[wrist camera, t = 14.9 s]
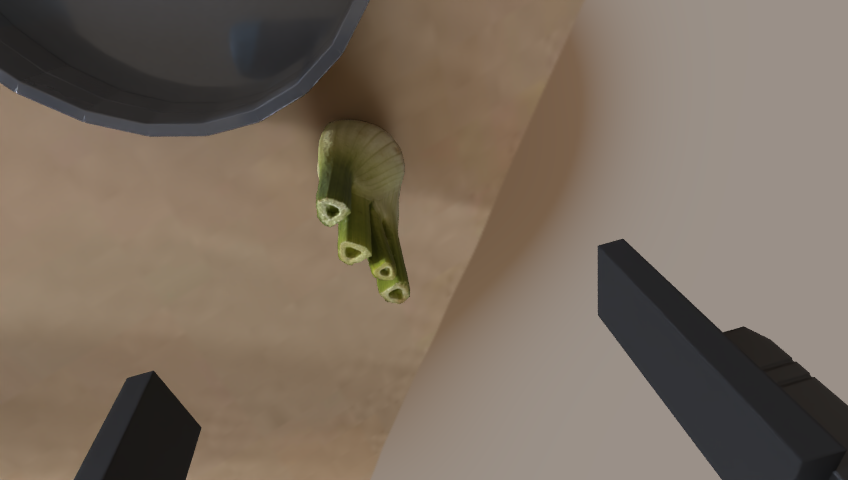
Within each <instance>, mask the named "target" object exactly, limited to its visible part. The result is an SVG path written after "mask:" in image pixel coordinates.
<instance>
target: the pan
mask: <svg viewBox="0 0 848 480" xmlns="http://www.w3.org/2000/svg"><path fill="white" fill-rule="evenodd" d="M369 1H370V0H0V83H1V84H3V85H4V86H6V87H7V88H9V89H10V90H12V91H13V92H16V93H17V94H19V95H22V96H24V97H26V98H29V99H31V100H33V101H36V102H38V103H40V104H43V105H45V106H47V107H50V108H52V109H54V110H56V111H59V112H61V113H63V114H66V115H68V116H70V117H73V118H75V119H77V120H80V121H82V122H85V123H89V124H94V125H98V126H103V127H108V128H112V129H117V130H121V131H126V132H131V133H135V134H140V135H145V136H149V137H165V136H210V135H214V134H217V133H221V132H225V131H228V130H232V129H236V128H240V127H243V126H247V125H251V124H254V123H258V122H260V121H263V120H264V119H266V118H268V117H269V116H271V115H273V114H274V113H276V112H277V111H279V110H281V109H282V108H284V107H286V106H287V105H289V104H291V103H292V102H294V101H296V100H297V99H299V98H301V97H302V96H304V95H305V94H307V93H308V92H309V90H310V89H311V88H312V87H313V86H314V85H315V84H316V83H317V82H318V81H319V80H320V78H321V77H322V76H323V75H324V74H325V73H326V72H327V71H328V70H329V69H330V68H331V66H332V65H333V64H334V63H335V62H336V61H337V60H338V59H339V58H340V57H341V56H342V53H344V51H345V49H346V47H347V45H348V43H349V41H350V39H351V37H352V35H353V33H354V31H355V29H356V27H357V25H358V23H359V21H360V19H361V17H362V15H363V13H364V11H365V9H366V7H367V5H368V3H369Z"/></svg>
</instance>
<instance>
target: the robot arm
mask: <svg viewBox="0 0 848 480" xmlns="http://www.w3.org/2000/svg"><path fill="white" fill-rule="evenodd" d="M598 316H599V317H600V318H601V320H602V321H603V322H604V324H605V325H606V326H607V327H608V329H609V330H610V331H611V333H612V334H613V335H614V337H615V338H616V340H617V341H618V342H619V343H620V345H621V346H622V348H623V349H624V350H625V351H626V353H627V354H628V356H629V357H630V358H631V360H632V361H633V362H634V363H635V365H636V366H637V367H638V369H639V370H640V371H641V373H642V374H643V375H644V377H645V378H646V379H647V381H648V382H649V383H650V385H651V386H652V387H653V389H654V390H655V391H656V393H657V394H658V395H659V397H660V398H661V399H662V401H663V402H664V403H665V405H666V406H667V407H668V409H669V410H670V411H671V413H672V414H673V415H674V417H675V418H676V419H677V421H678V422H679V423H680V425H681V426H682V427H683V429H684V430H685V431H686V433H687V434H688V435H689V437H691V439H692V441H693V442H694V443H695V444H696V446H697V447H698V449H699V450H700V451H701V453H702V454H703V455H704V457H706V459H707V461H708V462H709V463H710V464H711V466H712V467H713V468H714V470H715V471H716V472H717V474H718V475H719V476H720V478H721V479H722V480H848V405H846V404H845V403H844V402H843V401H842V400H841V399H839V398H838V397H837V396H836V395H834V393H832V392H831V391H830V390H829V389H828V388H826V387H825V386H824V385H823V384H822V383H821V382H820V381H818V380H817V379H816V378H815V377H811V376H810V373H809V372H808V371H807V370H805V369H804V368H803V367H802V366H801V365H800V364H798V363H797V362H794V361H793V360H792V358H791V357H790V356H789V355H788V354H787V353H785V352H784V351H783V350H782V349H780V347H778V346H777V345H776V344H775V343H774V342H772V341H771V340H770V339H768V338H766V337H764V336H762V335H760V334H758V333H756V332H754V331H752V330H750V329H748V328H746V327H740V328H737V329H734V330H730V331H726V332H722V331H721V330H720V329H718V328H717V327H716V326H715V325H714V324H713V323H712V322H711V321H710V320H709V319H708V318H707V317H706V316H705V315H704V314H702V313H701V312H700V311H699V310H698V309H697V308H696V307H695V306H694V305H693V304H692V303H691V302H690V301H689V300H688V299H687V298H685V297H684V296H683V295H682V294H681V293H680V292H679V291H678V290H677V289H676V288H675V287H674V286H673V285H672V284H671V283H670V282H668V281H667V280H666V279H665V278H664V277H663V276H662V275H661V274H660V273H659V272H658V271H657V270H656V269H655V268H654V267H653V266H652V265H650V264H649V263H648V262H647V261H646V260H645V259H644V258H643V257H642V256H641V255H640V254H639V253H638V252H637V251H636V250H634V249H633V248H632V247H631V246H630V245H629V244H628V243H627V242H626V241H625V240H624V239H621V240H617V241H613V242H610V243H606V244H603V245H599V246H598ZM200 431H201V427H200V425H199V424H198V423H197V422H196V421H195V419H194V418H193V417H192V416H191V415H190V413H189V412H188V411H187V410H186V409H185V407H184V406H183V405H182V404H181V403H180V401H179V400H178V399H177V398H176V397H175V395H174V394H173V393H172V392H171V391H170V389H169V388H168V387H167V386H166V385H165V383H164V382H163V381H162V380H161V379H160V378H159V376H158V375H157V374H156V373H155V372H154V371H151V372H147V373H143V374H140V375H136V376H133V377H129V378H127V379H126V381H125V383H124V385H123V387H122V389H121V391H120V393H119V395H118V397H117V398H116V400H115V402H114V404H113V406H112V408H111V410H110V412H109V414H108V416H107V417H106V419H105V421H104V423H103V425H102V427H101V429H100V431H99V433H98V435H97V436H96V438H95V440H94V442H93V444H92V446H91V448H90V450H89V452H88V454H87V455H86V457H85V459H84V461H83V463H82V465H81V467H80V469H79V471H78V473H77V474H76V476H75V478H74V480H186V477H187V473H188V470H189V467H190V464H191V460H192V457H193V454H194V450H195V447H196V444H197V441H198V437H199V434H200Z"/></svg>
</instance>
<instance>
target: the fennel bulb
mask: <svg viewBox="0 0 848 480" xmlns="http://www.w3.org/2000/svg"><path fill="white" fill-rule="evenodd" d="M404 167H405V165H404V159H403V155H402V152H401V149H400V147H399V146H398V144H397V143H396V142H395V140H394V139H393V138H392V136H391V135H390V134H388V133H387V132H386V131H384V130H383V129H382V128H380V127H378V126H376V125H374V124H370V123H368V122H364V121H359V120H337V121H334V122H330V123H329V124H328V125H326V127H325V129H324V131H323V133H322V134H321V138H320V140H319V147H318V167H317V173H318V178H319V184H318V191H317V194H316V208H317V216H318V218H319V220H320V221H321V222H322V223H323V224H324V225H325V226H329V227H332V226H334V225H335V224H337V223H338V236H339V238H338V257H339V259H340V260H341V261H343V262H344V263H346V264H347V265H353V264H354V263H358V262H361V261H363V260H364V259H365V258H367V259H368V261H369V266H370V269H371V272H372V274H373V276H374V277H375V278H377V286H378V290H379V294H380V295H381V296H382V297H384V299H385V301H387V302H391V303H397V304H401V303H403V302H404V301H405V300H407V299H408V298H409V297H410V287H409V282H408V276H407V272H406V268H405V264H404V259H403V255H402V250H401V246H400V242H399V237H398V220H399V196H400V188H401V184H402V180H403V176H404V172H405V171H404Z"/></svg>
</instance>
